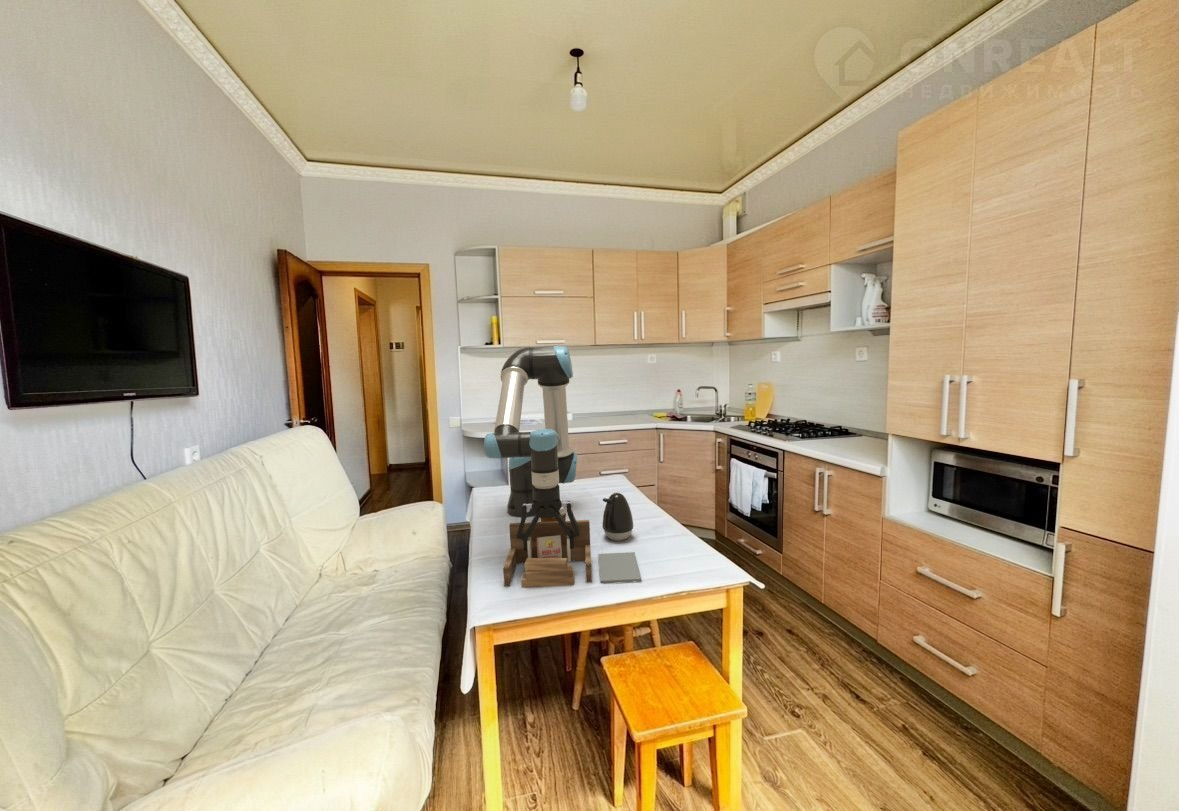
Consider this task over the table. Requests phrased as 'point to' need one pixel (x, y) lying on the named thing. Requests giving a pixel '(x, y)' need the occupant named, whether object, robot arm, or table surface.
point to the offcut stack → (547, 572)
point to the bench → (543, 530)
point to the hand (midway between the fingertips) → (549, 560)
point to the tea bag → (549, 547)
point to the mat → (618, 567)
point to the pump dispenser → (617, 517)
